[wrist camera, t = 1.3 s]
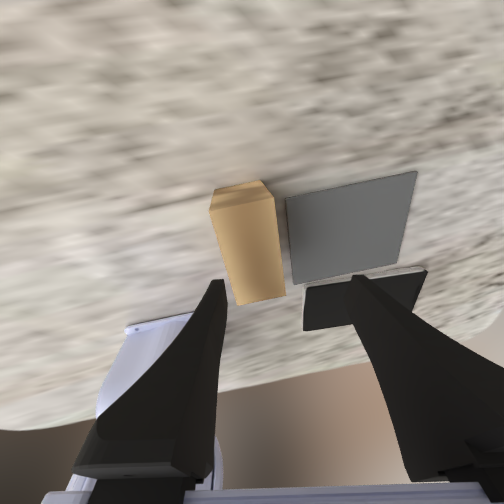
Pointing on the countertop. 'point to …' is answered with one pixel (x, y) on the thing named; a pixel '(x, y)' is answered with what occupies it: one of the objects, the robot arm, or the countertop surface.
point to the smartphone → (333, 292)
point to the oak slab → (249, 241)
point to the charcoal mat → (348, 227)
